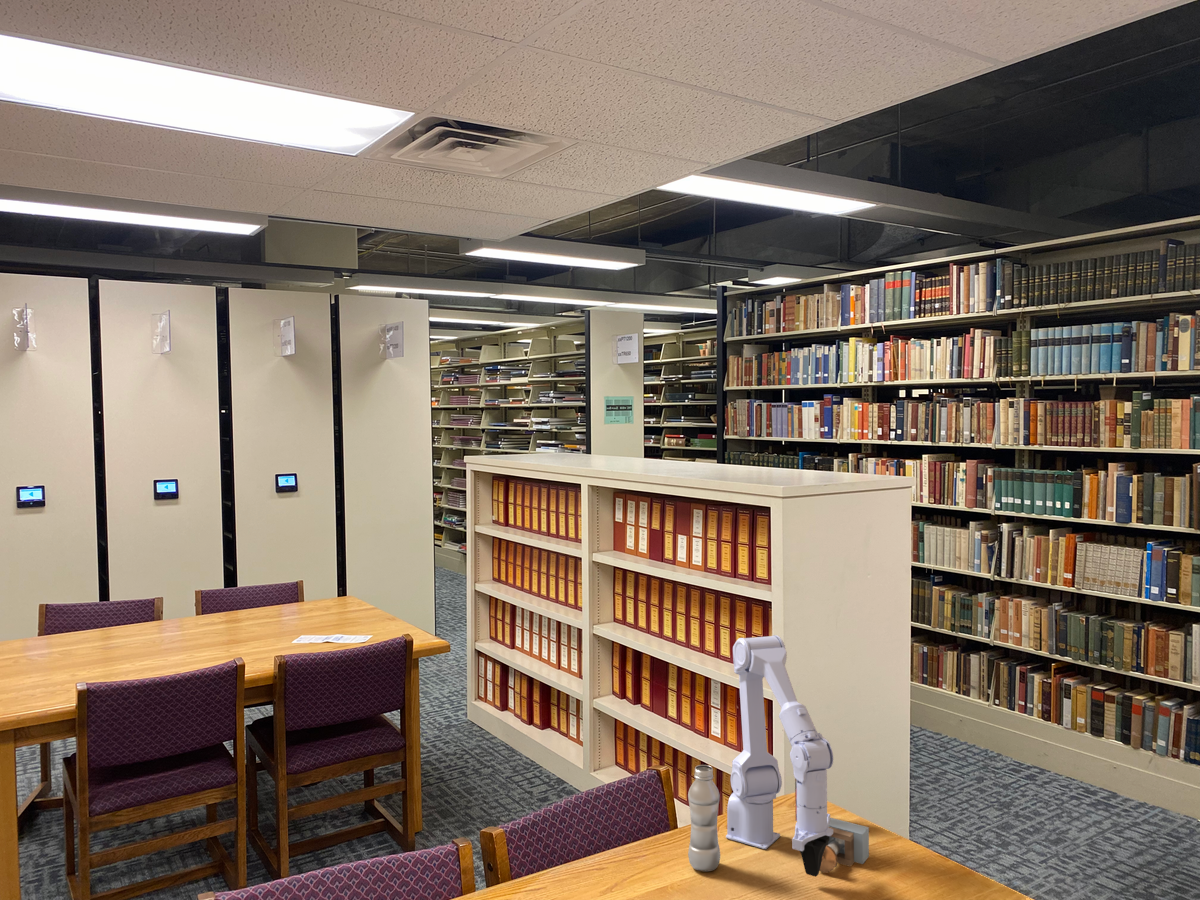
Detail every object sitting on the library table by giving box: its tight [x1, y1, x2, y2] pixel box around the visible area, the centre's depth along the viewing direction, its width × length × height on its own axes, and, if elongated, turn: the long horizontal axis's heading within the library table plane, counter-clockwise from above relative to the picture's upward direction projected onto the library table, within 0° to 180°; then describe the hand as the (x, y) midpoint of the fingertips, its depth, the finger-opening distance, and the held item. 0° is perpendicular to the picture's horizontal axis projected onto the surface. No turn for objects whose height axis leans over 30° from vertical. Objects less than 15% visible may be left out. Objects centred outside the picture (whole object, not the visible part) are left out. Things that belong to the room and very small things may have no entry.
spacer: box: [827, 827, 855, 867], centre depth 169 cm, size 7×2×6 cm, turn 54°
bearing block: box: [828, 817, 870, 865], centre depth 172 cm, size 10×4×6 cm, turn 54°
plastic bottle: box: [687, 764, 721, 872], centre depth 166 cm, size 6×7×20 cm
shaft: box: [819, 838, 845, 873], centre depth 168 cm, size 11×5×5 cm, turn 144°
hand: (812, 874), depth 159 cm, fingers closed
